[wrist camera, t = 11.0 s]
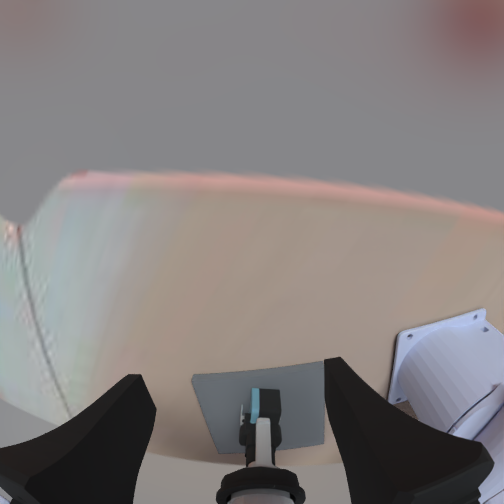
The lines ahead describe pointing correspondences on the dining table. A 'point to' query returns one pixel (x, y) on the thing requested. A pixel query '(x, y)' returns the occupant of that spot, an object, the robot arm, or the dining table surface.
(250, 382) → the rubber pad
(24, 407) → the dining table surface
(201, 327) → the dining table surface
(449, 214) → the dining table surface
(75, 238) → the dining table surface
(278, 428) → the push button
